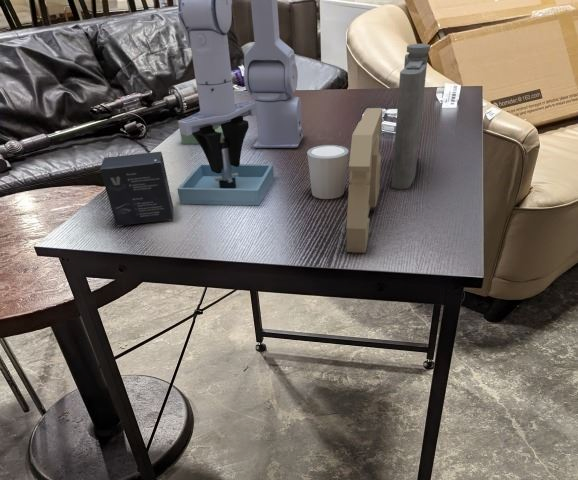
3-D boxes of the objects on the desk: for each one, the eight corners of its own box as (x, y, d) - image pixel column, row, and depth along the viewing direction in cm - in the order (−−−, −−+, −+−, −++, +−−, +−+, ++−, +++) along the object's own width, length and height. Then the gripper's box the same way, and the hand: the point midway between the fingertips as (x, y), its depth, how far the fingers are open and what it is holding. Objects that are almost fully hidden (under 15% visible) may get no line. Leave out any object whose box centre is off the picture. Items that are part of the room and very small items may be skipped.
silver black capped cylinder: (235, 181, 96) (229, 135, 91) (242, 189, 93) (237, 141, 88) (213, 186, 95) (206, 139, 90) (220, 193, 92) (213, 146, 87)
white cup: (308, 186, 94) (307, 145, 89) (346, 184, 94) (347, 143, 89) (308, 201, 89) (306, 158, 84) (348, 199, 88) (349, 156, 84)
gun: (366, 257, 73) (373, 140, 64) (343, 256, 73) (346, 140, 65) (379, 202, 92) (385, 106, 83) (360, 201, 93) (364, 106, 84)
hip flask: (397, 157, 102) (407, 36, 89) (418, 158, 102) (431, 35, 88) (390, 189, 91) (400, 54, 78) (414, 189, 90) (429, 54, 77)
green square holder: (237, 130, 122) (235, 118, 120) (225, 144, 115) (223, 132, 113) (196, 130, 124) (194, 118, 122) (182, 144, 116) (180, 132, 115)
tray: (274, 178, 98) (273, 164, 96) (259, 205, 89) (257, 190, 87) (201, 177, 100) (199, 163, 98) (179, 203, 91) (177, 188, 89)
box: (174, 207, 90) (162, 150, 84) (173, 221, 86) (161, 161, 80) (119, 214, 89) (103, 156, 83) (116, 227, 85) (98, 168, 79)
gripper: (234, 69, 89) (243, 152, 98) (161, 86, 82) (178, 175, 91) (261, 74, 85) (268, 160, 94) (187, 93, 78) (202, 185, 87)
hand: (225, 168), depth 92 cm, fingers open, 3 cm apart
